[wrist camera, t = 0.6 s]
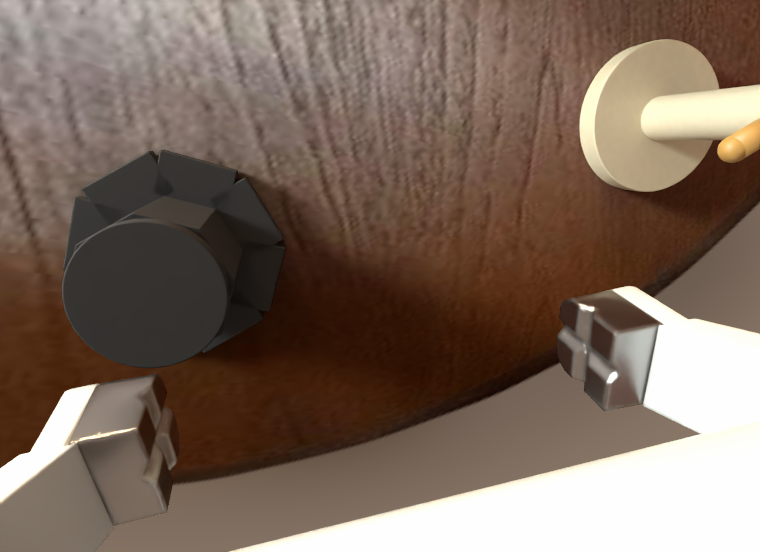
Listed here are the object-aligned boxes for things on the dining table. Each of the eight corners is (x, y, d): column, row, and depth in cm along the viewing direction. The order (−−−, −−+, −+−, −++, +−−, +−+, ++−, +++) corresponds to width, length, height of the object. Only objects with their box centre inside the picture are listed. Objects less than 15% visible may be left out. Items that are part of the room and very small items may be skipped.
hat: (314, 285, 30) (328, 333, 22) (154, 378, 29) (114, 460, 22) (210, 118, 26) (186, 109, 19) (26, 220, 26) (-75, 253, 18)
